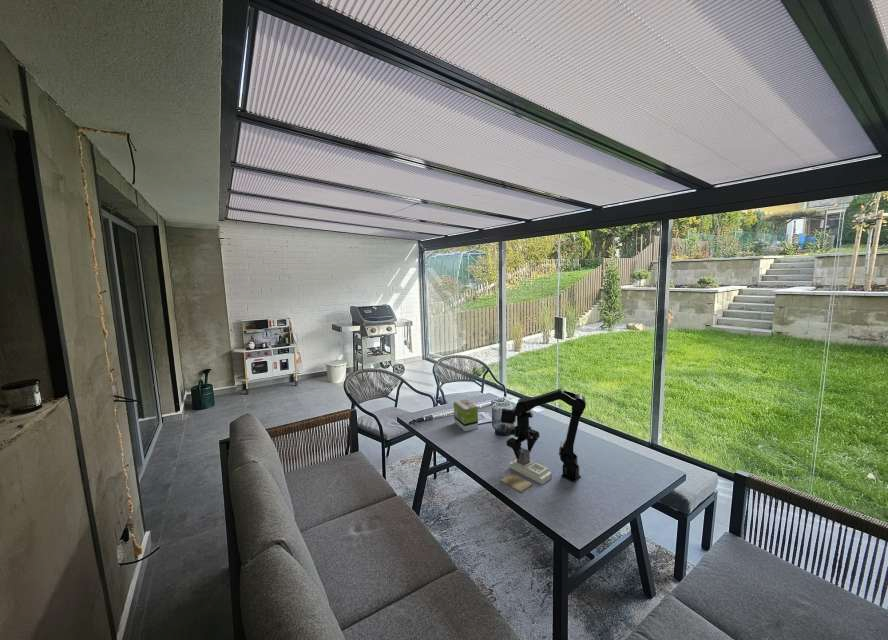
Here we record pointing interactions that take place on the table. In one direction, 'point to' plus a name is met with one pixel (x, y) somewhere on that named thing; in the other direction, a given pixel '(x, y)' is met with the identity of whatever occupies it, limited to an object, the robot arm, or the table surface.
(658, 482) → the table surface
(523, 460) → the block
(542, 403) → the robot arm
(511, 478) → the cork pad
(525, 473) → the power strip
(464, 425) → the tea box
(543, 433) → the table surface
